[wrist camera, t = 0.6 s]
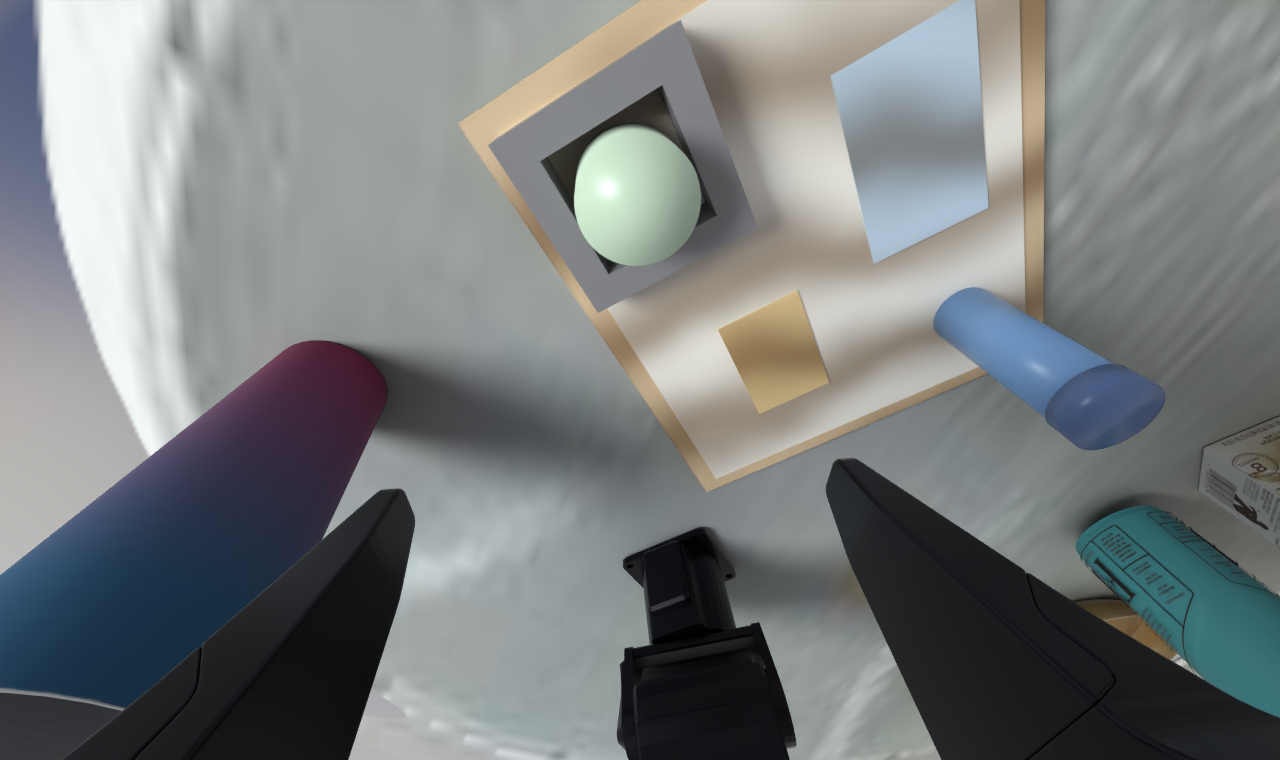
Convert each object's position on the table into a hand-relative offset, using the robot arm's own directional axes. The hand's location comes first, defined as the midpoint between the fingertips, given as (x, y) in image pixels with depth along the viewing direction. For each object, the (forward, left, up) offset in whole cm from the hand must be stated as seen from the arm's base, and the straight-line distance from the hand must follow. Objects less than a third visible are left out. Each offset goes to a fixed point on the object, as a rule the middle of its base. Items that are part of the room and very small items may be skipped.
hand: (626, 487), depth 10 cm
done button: (+3, -3, -11) cm, 12 cm away
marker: (-11, -14, -12) cm, 22 cm away
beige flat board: (-4, -8, -13) cm, 16 cm away
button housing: (+3, -3, -12) cm, 13 cm away
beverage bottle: (-37, -23, -14) cm, 45 cm away
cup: (+1, +15, -14) cm, 20 cm away
